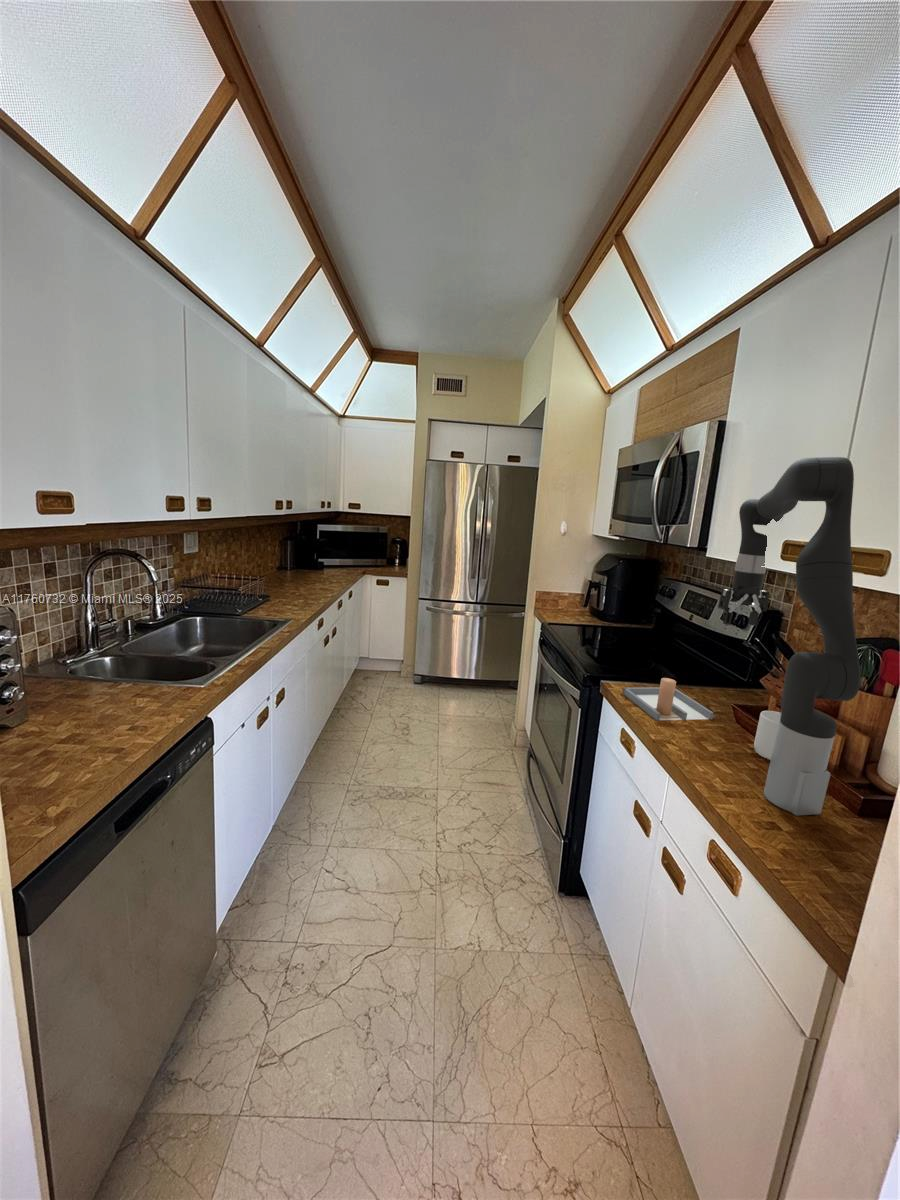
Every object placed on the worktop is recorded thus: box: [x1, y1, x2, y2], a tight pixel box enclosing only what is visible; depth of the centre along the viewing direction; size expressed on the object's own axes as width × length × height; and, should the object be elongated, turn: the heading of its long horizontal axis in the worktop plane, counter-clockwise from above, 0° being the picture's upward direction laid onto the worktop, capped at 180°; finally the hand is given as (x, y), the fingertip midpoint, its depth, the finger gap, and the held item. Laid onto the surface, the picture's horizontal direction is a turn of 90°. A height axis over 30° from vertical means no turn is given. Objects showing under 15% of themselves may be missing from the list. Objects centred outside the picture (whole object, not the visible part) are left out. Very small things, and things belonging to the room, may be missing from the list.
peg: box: [656, 677, 677, 715], centre depth 137 cm, size 4×4×10 cm
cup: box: [753, 710, 781, 761], centre depth 121 cm, size 8×12×10 cm
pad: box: [654, 708, 679, 718], centre depth 138 cm, size 6×6×1 cm
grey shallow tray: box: [621, 686, 714, 721], centre depth 144 cm, size 19×18×3 cm
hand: (739, 624), depth 138 cm, fingers open, 8 cm apart
